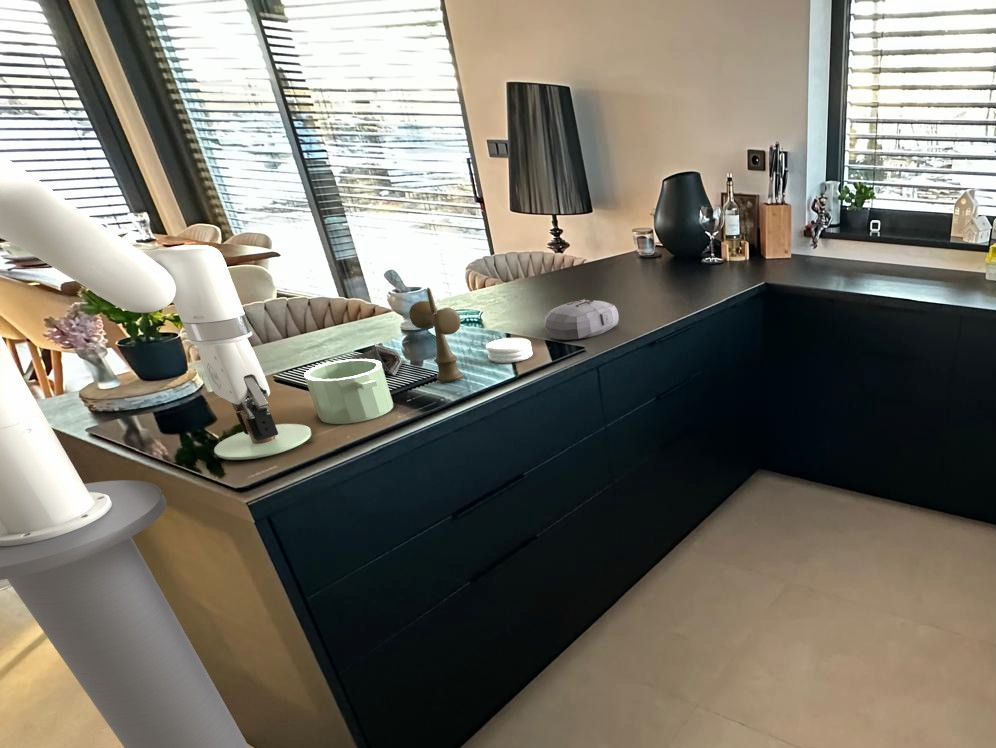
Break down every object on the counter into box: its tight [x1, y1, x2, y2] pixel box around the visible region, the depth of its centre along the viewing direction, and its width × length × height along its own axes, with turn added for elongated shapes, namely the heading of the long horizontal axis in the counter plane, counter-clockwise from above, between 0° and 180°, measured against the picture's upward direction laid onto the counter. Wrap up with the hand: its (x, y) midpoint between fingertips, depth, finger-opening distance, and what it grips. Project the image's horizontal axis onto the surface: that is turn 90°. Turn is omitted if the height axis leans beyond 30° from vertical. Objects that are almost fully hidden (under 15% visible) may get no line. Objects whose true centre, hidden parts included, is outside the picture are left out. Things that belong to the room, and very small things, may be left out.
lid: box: [213, 407, 312, 461], centre depth 105 cm, size 13×13×7 cm
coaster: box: [485, 337, 533, 364], centre depth 150 cm, size 10×10×4 cm
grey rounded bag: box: [543, 298, 620, 341], centre depth 168 cm, size 15×8×20 cm
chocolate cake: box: [351, 342, 403, 376], centre depth 139 cm, size 10×7×12 cm
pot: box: [304, 359, 394, 425], centre depth 118 cm, size 12×17×8 cm
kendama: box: [408, 287, 464, 383], centre depth 132 cm, size 6×10×20 cm, turn 58°
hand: (261, 433), depth 106 cm, fingers closed on lid, 3 cm apart
